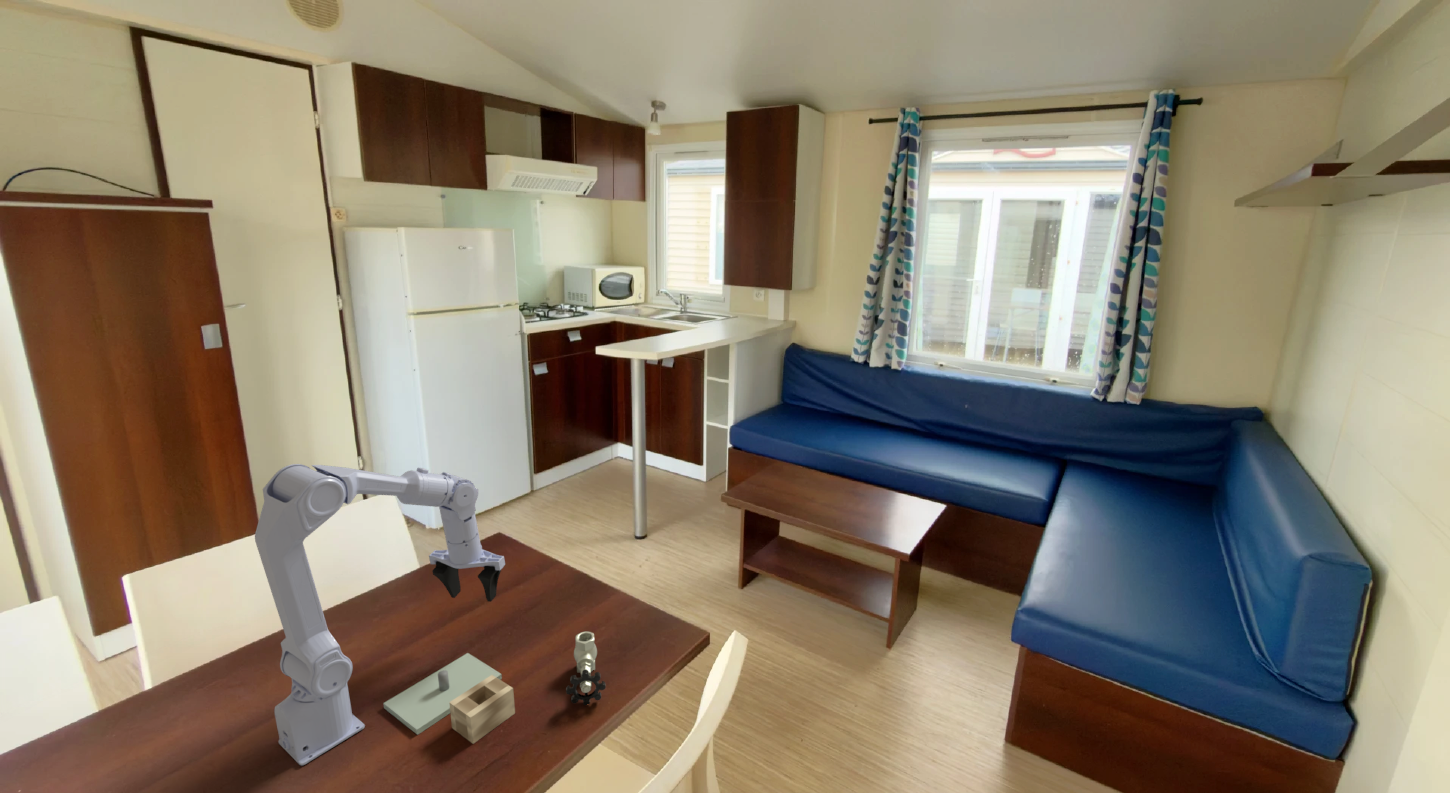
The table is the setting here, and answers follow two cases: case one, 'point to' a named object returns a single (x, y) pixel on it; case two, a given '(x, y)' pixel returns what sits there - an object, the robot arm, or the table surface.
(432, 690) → the pin base
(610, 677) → the table surface
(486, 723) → the collar block
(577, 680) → the valve
